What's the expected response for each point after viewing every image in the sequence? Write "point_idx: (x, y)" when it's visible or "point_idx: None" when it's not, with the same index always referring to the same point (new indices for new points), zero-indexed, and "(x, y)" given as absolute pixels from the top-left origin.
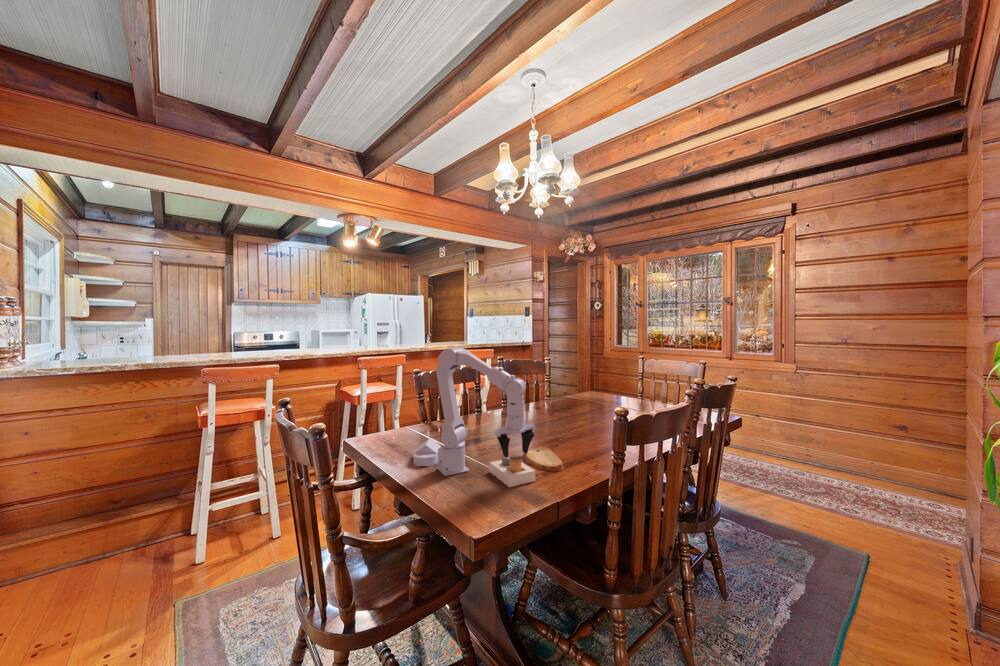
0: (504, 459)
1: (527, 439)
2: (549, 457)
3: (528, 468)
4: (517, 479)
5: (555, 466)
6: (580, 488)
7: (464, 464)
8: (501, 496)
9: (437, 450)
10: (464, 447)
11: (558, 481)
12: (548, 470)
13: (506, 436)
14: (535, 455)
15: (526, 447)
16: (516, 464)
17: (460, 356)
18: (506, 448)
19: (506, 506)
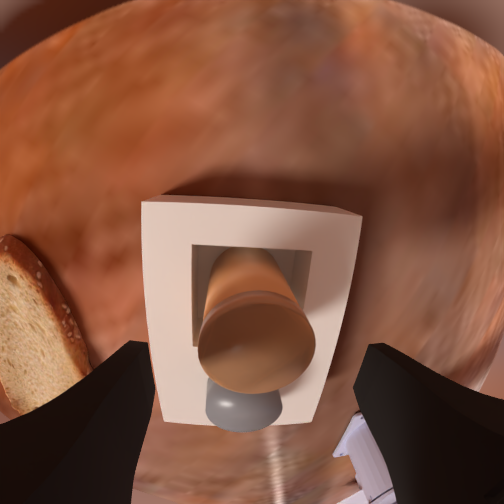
0: (278, 401)
1: (69, 469)
2: (10, 345)
3: (162, 262)
4: (293, 205)
5: (10, 257)
6: (55, 39)
7: (367, 435)
8: (411, 152)
9: (362, 492)
10: (389, 483)
11: (67, 133)
12: (44, 268)
13: (500, 498)
14: (54, 394)
15: (121, 383)
16: (278, 286)
17: None
18: (449, 384)
19: (428, 78)
